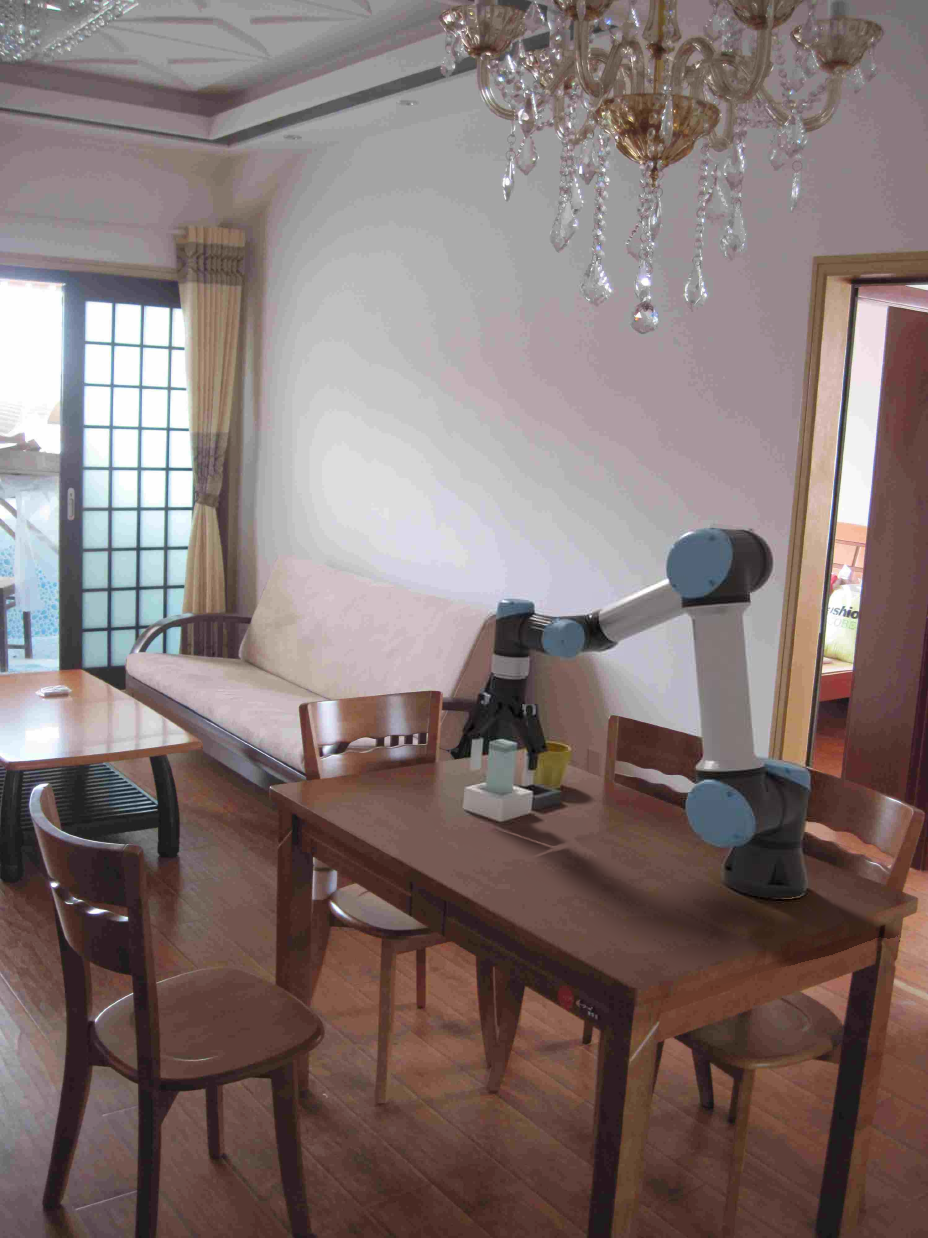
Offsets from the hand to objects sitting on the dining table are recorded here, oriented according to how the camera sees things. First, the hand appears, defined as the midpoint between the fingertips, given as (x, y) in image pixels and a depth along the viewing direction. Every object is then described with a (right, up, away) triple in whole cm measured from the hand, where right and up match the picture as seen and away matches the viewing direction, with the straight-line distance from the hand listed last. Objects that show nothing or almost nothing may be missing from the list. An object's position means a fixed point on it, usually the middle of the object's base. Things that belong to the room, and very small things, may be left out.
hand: (500, 777), depth 236 cm
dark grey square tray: (+7, -7, +10) cm, 14 cm away
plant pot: (+11, -6, +24) cm, 27 cm away
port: (-1, -8, +1) cm, 8 cm away
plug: (-1, -7, +1) cm, 7 cm away
